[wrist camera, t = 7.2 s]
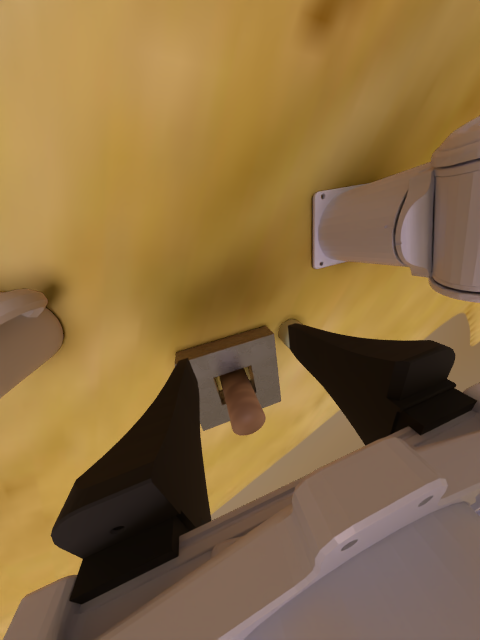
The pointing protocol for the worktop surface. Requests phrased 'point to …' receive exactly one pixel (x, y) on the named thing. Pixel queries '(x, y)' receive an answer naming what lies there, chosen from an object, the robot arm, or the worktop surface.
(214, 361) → the collar plate
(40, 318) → the cup
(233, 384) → the walnut dowel
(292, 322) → the pale cream cylinder
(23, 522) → the worktop surface
